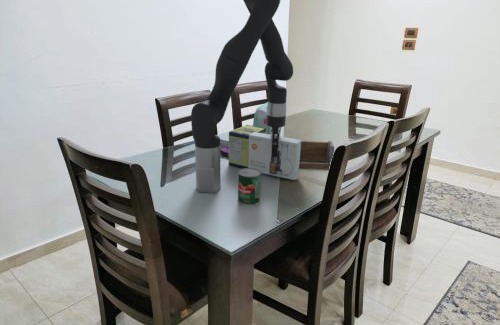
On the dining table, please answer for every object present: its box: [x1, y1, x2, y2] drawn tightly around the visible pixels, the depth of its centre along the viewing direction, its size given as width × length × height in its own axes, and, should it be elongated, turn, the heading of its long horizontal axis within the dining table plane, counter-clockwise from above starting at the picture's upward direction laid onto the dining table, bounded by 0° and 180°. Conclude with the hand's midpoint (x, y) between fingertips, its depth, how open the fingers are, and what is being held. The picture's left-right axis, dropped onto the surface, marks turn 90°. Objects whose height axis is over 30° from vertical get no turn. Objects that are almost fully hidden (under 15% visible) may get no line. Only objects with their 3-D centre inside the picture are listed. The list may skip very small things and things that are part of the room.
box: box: [220, 138, 229, 159], centre depth 178 cm, size 14×4×20 cm
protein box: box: [228, 124, 266, 169], centre depth 160 cm, size 10×16×16 cm
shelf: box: [299, 140, 335, 170], centre depth 162 cm, size 11×28×10 cm, turn 87°
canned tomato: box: [237, 168, 262, 206], centre depth 125 cm, size 8×8×11 cm
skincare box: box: [248, 132, 302, 181], centre depth 146 cm, size 21×5×16 cm, turn 64°
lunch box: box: [252, 101, 282, 135], centre depth 190 cm, size 27×10×21 cm, turn 161°
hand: (274, 153), depth 145 cm, fingers closed on skincare box, 6 cm apart
